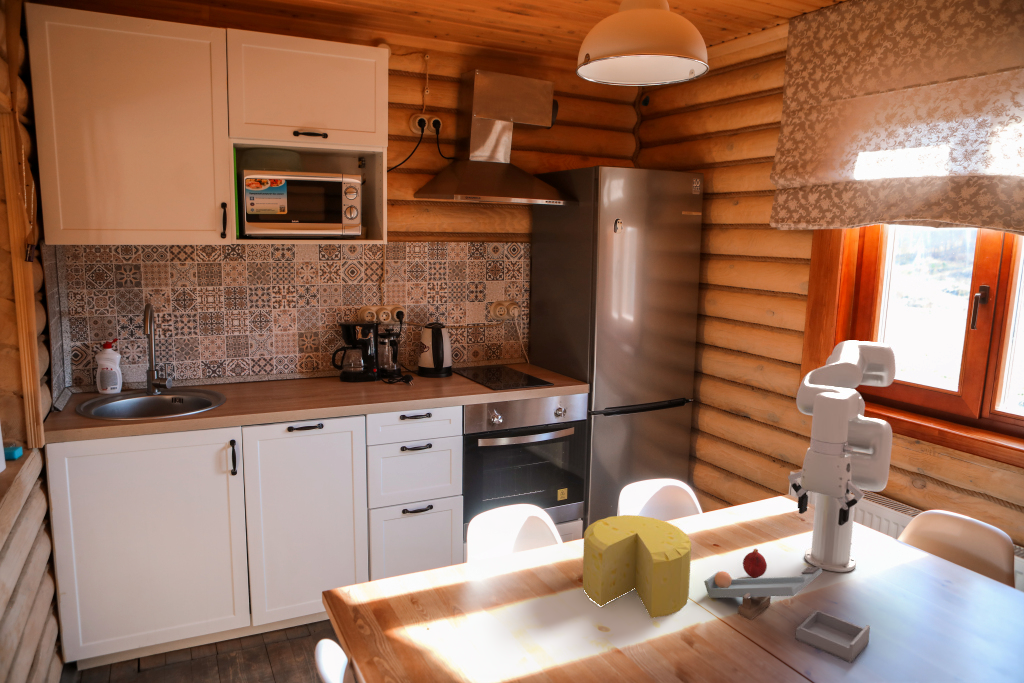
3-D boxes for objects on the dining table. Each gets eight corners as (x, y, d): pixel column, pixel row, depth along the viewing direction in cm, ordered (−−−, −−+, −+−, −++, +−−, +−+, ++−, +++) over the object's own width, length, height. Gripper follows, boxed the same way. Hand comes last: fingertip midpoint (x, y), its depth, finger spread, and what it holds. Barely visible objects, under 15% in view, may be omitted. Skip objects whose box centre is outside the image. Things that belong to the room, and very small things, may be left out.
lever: (740, 575, 176) (735, 560, 177) (822, 571, 161) (817, 555, 161) (705, 599, 164) (700, 583, 165) (790, 598, 148) (785, 580, 149)
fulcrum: (757, 598, 165) (758, 581, 164) (770, 603, 163) (771, 586, 162) (737, 614, 158) (738, 596, 158) (750, 619, 156) (752, 601, 155)
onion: (767, 585, 172) (769, 555, 171) (743, 582, 173) (745, 553, 172) (763, 574, 177) (765, 545, 176) (740, 571, 179) (742, 543, 177)
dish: (814, 621, 156) (815, 605, 155) (868, 642, 147) (870, 625, 147) (795, 639, 149) (796, 622, 148) (851, 663, 140) (852, 645, 140)
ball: (724, 587, 168) (716, 571, 169) (737, 583, 165) (729, 567, 166) (716, 592, 165) (708, 576, 166) (729, 588, 163) (721, 572, 164)
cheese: (619, 628, 152) (621, 566, 150) (563, 576, 176) (565, 521, 173) (711, 604, 163) (714, 545, 160) (647, 557, 186) (649, 505, 184)
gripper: (874, 451, 153) (867, 524, 155) (797, 435, 165) (792, 503, 168) (862, 458, 148) (855, 534, 150) (784, 441, 160) (778, 511, 162)
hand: (822, 517), depth 159 cm, fingers open, 8 cm apart
